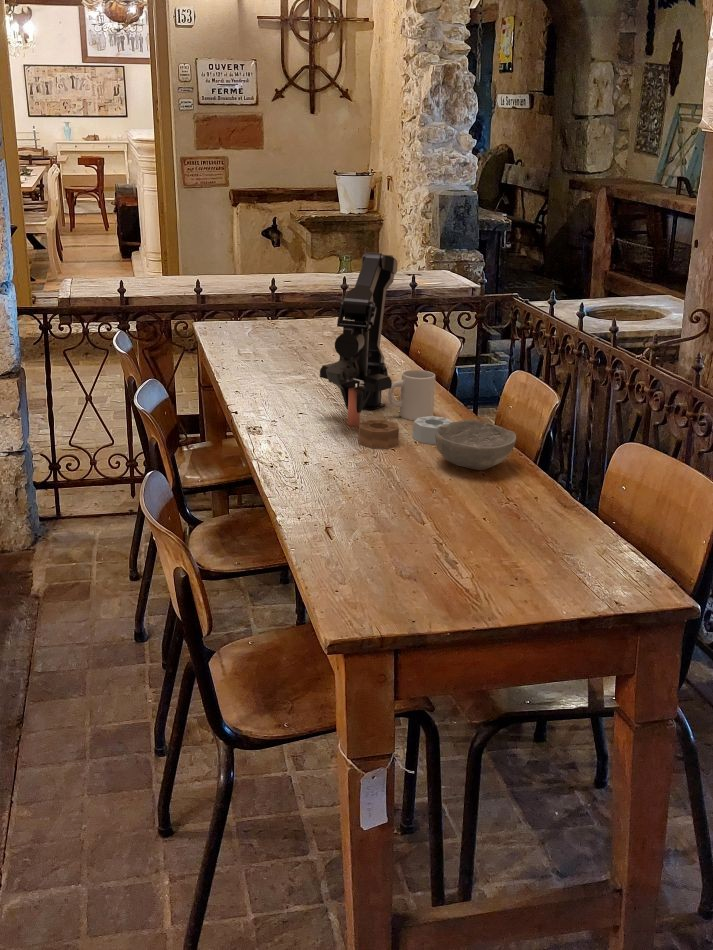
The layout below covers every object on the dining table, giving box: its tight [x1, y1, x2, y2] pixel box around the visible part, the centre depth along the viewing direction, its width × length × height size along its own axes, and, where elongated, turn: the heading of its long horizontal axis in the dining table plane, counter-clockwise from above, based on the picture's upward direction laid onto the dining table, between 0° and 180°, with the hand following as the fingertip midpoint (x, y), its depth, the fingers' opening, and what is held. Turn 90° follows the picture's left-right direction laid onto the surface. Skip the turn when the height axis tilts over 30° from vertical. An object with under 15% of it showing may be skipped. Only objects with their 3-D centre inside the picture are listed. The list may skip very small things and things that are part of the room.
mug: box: [388, 369, 436, 421], centre depth 259 cm, size 12×8×11 cm
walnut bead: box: [358, 419, 400, 449], centre depth 240 cm, size 9×9×4 cm
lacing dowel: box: [346, 388, 361, 427], centre depth 251 cm, size 3×3×9 cm
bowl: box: [435, 419, 517, 471], centre depth 226 cm, size 18×18×8 cm
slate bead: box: [412, 415, 454, 446], centre depth 244 cm, size 9×9×4 cm
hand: (354, 411), depth 252 cm, fingers closed on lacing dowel, 3 cm apart
